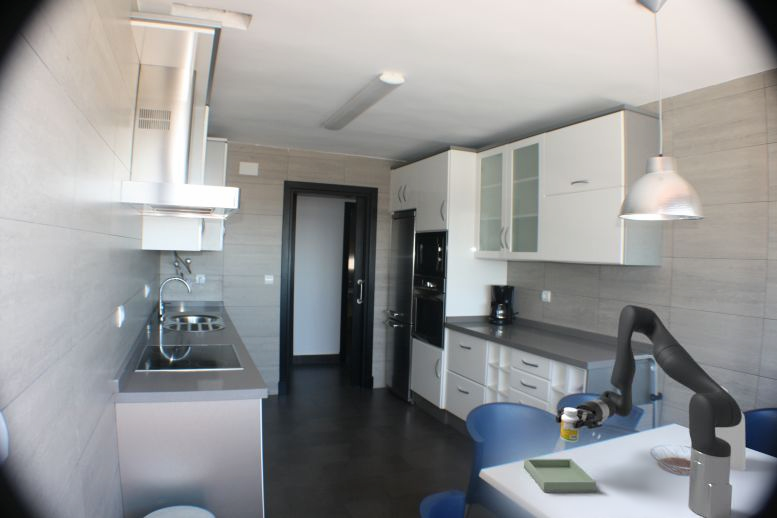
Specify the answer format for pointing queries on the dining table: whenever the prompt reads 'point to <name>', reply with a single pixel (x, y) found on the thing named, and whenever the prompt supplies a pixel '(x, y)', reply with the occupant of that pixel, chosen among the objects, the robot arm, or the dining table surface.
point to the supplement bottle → (569, 425)
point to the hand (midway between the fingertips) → (565, 422)
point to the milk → (734, 442)
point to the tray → (559, 475)
